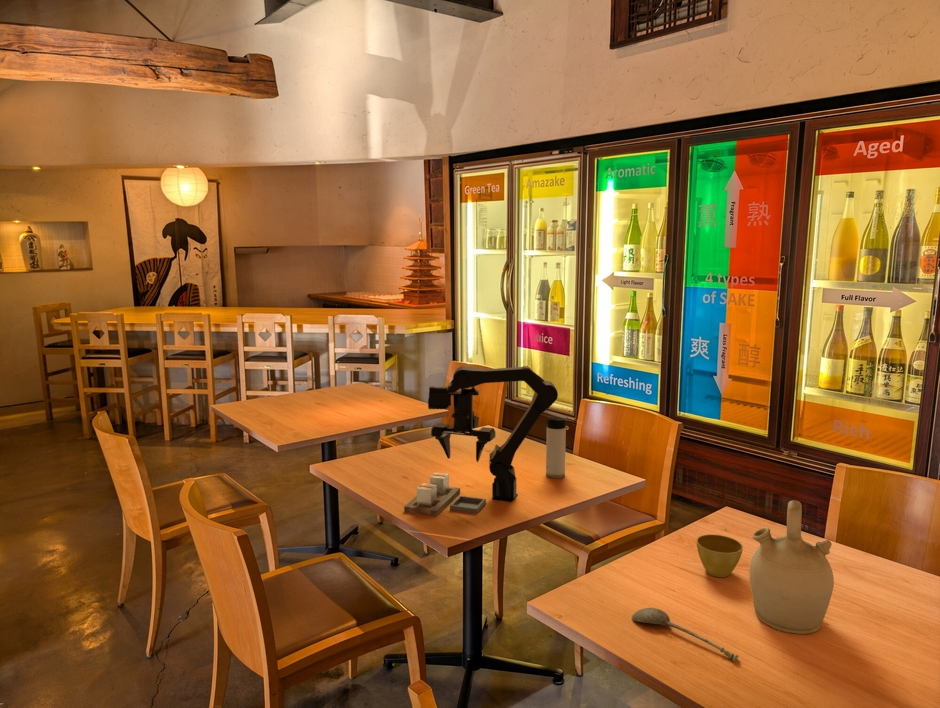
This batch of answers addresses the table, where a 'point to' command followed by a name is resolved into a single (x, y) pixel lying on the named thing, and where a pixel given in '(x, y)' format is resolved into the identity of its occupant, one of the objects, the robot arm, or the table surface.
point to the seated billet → (440, 483)
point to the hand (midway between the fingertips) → (463, 459)
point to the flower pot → (719, 554)
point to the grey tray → (468, 504)
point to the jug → (791, 578)
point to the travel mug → (555, 447)
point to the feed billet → (427, 495)
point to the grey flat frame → (437, 509)
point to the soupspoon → (662, 618)
